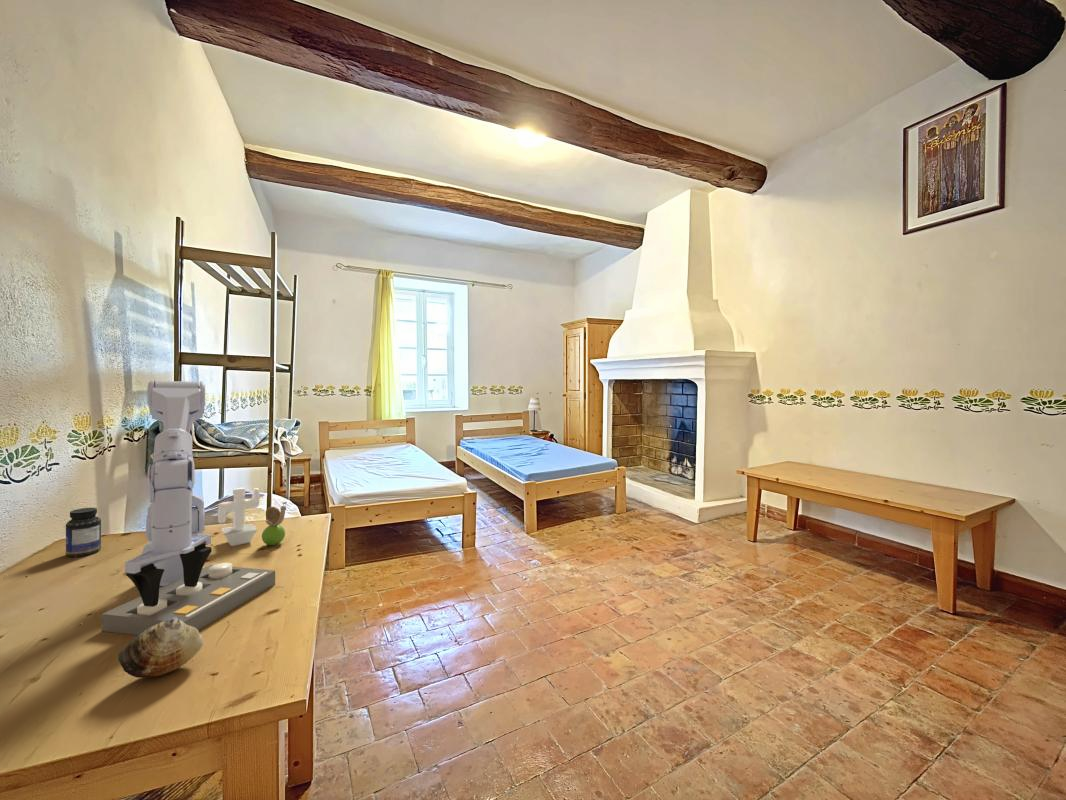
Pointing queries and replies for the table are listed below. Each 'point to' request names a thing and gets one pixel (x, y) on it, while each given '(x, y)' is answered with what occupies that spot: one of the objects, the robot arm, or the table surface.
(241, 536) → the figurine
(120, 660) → the seashell
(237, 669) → the table surface
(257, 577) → the switch console
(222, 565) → the button
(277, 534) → the snail figurine
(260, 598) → the table surface
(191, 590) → the button middle
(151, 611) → the button
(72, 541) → the pill bottle
